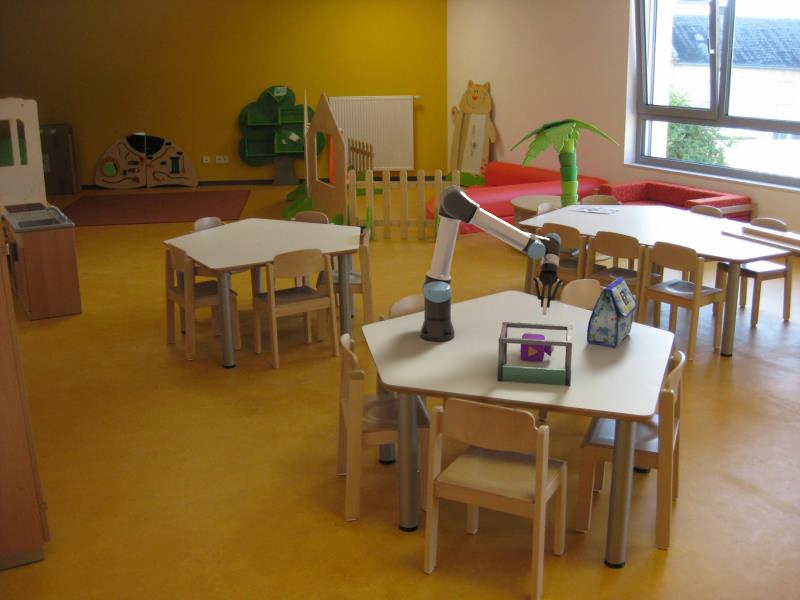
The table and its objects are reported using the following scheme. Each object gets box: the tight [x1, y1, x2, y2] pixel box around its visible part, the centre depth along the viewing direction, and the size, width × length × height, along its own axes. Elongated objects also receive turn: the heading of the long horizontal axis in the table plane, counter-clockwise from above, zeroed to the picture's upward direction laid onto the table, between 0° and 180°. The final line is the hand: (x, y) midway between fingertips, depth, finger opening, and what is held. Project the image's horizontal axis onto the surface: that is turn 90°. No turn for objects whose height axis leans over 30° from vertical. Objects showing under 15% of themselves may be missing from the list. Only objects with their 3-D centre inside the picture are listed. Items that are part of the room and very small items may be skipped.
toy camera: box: [519, 332, 555, 362], centre depth 349 cm, size 11×14×10 cm
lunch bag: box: [586, 276, 638, 349], centre depth 368 cm, size 22×17×26 cm
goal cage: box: [496, 321, 573, 387], centre depth 332 cm, size 28×21×17 cm
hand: (544, 313), depth 367 cm, fingers closed
